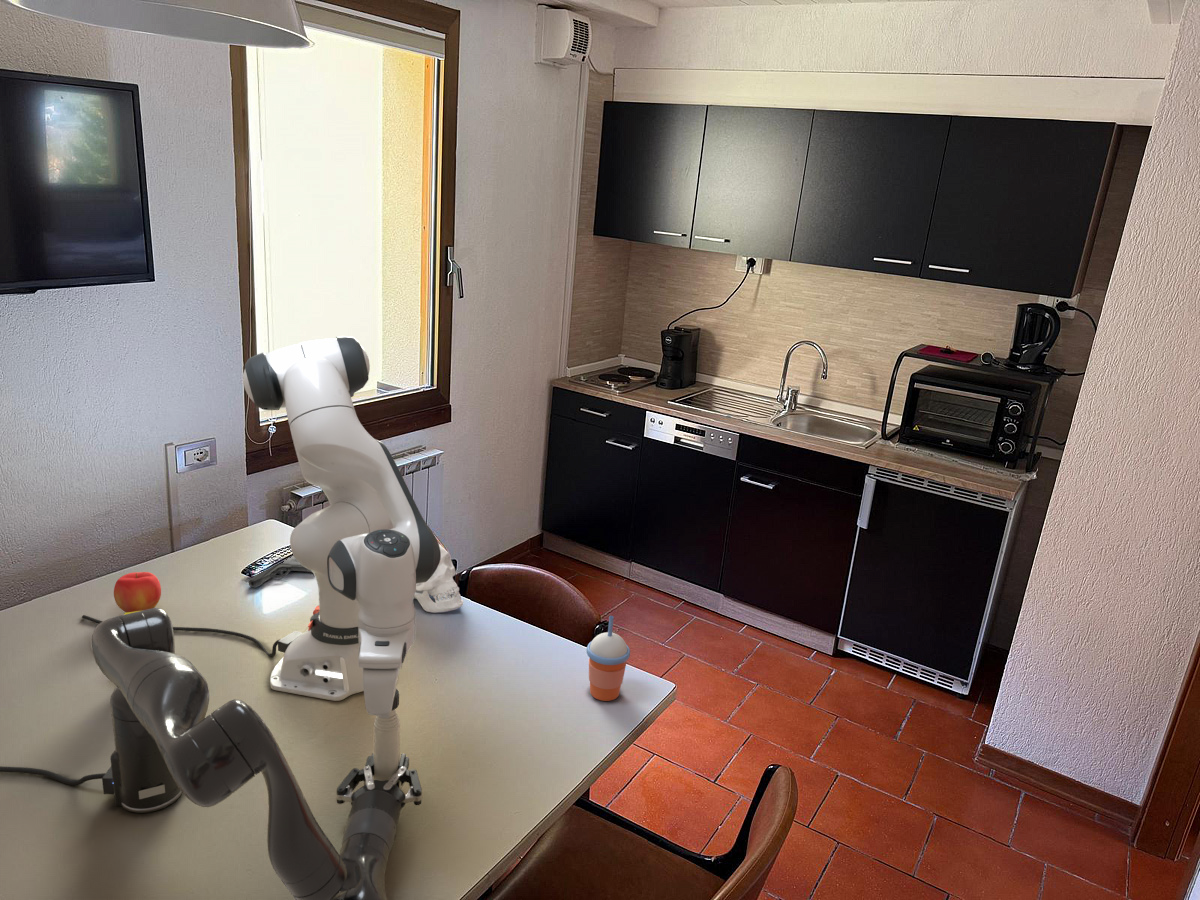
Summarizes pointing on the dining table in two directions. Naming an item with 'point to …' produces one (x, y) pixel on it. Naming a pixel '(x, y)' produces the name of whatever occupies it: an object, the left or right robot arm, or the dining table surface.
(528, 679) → the dining table surface
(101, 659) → the left robot arm
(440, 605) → the skull
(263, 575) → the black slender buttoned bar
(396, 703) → the cap
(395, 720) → the bottle
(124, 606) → the apple
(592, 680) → the cup with straw
